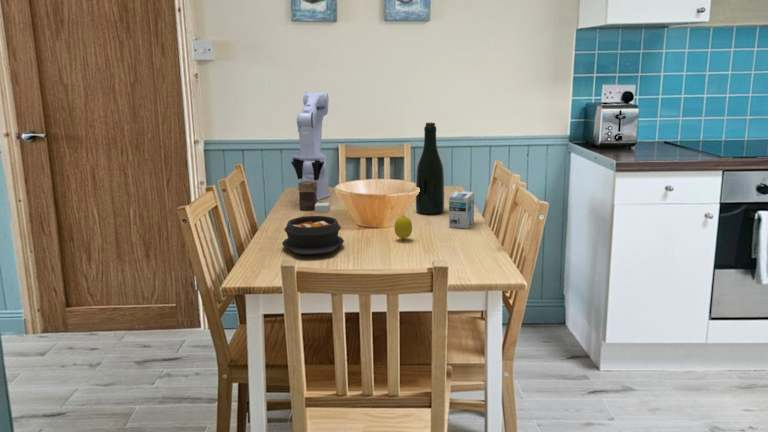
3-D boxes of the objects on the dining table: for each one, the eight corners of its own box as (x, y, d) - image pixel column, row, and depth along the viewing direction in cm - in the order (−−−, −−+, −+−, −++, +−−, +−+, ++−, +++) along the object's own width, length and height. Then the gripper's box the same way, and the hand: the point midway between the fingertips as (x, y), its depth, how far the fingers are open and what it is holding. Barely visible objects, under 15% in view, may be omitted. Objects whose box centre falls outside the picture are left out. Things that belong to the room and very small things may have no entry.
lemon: (407, 236, 209) (407, 212, 207) (414, 241, 204) (414, 216, 202) (391, 238, 207) (391, 214, 206) (398, 243, 202) (398, 218, 201)
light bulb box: (467, 229, 218) (468, 197, 215) (448, 227, 220) (448, 196, 217) (474, 221, 228) (474, 191, 225) (455, 220, 230) (455, 190, 227)
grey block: (316, 210, 248) (316, 202, 247) (329, 210, 248) (329, 202, 247) (315, 213, 243) (314, 205, 243) (328, 213, 243) (328, 205, 242)
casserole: (347, 258, 188) (346, 230, 186) (282, 262, 186) (280, 233, 184) (341, 235, 212) (340, 210, 210) (283, 238, 210) (281, 213, 208)
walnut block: (306, 188, 251) (305, 180, 250) (317, 189, 249) (316, 181, 248) (298, 190, 247) (298, 183, 246) (309, 192, 245) (309, 184, 244)
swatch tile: (319, 202, 261) (319, 201, 260) (332, 203, 258) (332, 202, 258) (311, 205, 255) (311, 204, 255) (324, 206, 253) (324, 205, 253)
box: (315, 210, 247) (314, 191, 245) (299, 210, 247) (298, 191, 245) (317, 207, 252) (316, 188, 251) (301, 207, 253) (301, 188, 251)
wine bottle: (409, 211, 243) (409, 122, 235) (430, 207, 249) (430, 120, 241) (429, 216, 235) (429, 124, 227) (450, 212, 241) (451, 122, 234)
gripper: (285, 144, 249) (286, 179, 252) (316, 146, 243) (318, 182, 246) (296, 142, 255) (297, 177, 258) (327, 144, 249) (328, 179, 252)
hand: (308, 179), depth 252 cm, fingers open, 7 cm apart
